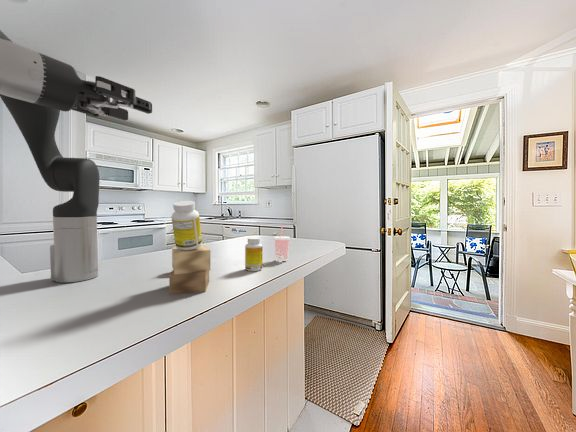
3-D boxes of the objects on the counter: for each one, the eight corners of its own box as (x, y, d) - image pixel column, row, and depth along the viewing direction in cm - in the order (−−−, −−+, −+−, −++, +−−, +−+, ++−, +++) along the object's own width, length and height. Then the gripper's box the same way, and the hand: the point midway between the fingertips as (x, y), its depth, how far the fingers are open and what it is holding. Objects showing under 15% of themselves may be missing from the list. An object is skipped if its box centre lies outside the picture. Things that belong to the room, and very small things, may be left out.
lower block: (169, 294, 58) (169, 273, 58) (177, 284, 66) (177, 265, 65) (205, 292, 59) (205, 272, 59) (209, 282, 67) (209, 264, 67)
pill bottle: (191, 238, 66) (186, 198, 62) (207, 244, 63) (203, 201, 59) (170, 247, 61) (163, 203, 57) (187, 253, 58) (181, 207, 54)
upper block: (174, 274, 57) (174, 252, 57) (172, 266, 64) (172, 247, 64) (210, 270, 61) (210, 250, 61) (204, 263, 68) (204, 245, 68)
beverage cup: (285, 263, 89) (285, 224, 89) (270, 261, 92) (270, 223, 91) (292, 259, 95) (292, 223, 94) (278, 258, 98) (278, 222, 97)
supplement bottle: (264, 271, 79) (264, 238, 78) (246, 272, 77) (246, 239, 76) (260, 266, 84) (260, 236, 83) (243, 268, 82) (243, 237, 82)
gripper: (49, 36, 34) (159, 86, 48) (14, 64, 41) (119, 100, 55) (51, 91, 34) (160, 125, 49) (15, 110, 41) (120, 134, 55)
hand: (138, 112), depth 52 cm, fingers open, 8 cm apart
